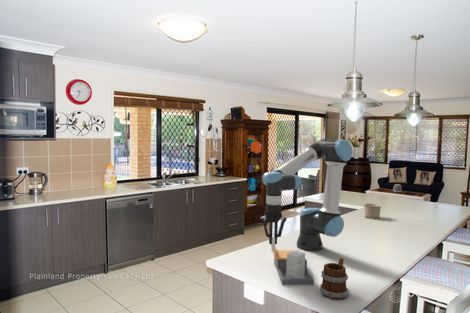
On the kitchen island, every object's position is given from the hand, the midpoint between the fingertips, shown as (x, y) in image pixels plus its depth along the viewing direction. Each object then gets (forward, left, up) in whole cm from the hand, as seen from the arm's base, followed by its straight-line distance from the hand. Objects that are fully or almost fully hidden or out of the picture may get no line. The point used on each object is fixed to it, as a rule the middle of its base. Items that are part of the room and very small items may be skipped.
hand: (272, 250), depth 166 cm
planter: (-97, -105, -9) cm, 143 cm away
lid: (-8, 0, -3) cm, 8 cm away
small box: (-9, +12, -8) cm, 17 cm away
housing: (-9, +7, -9) cm, 14 cm away
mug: (-23, +27, -9) cm, 36 cm away
